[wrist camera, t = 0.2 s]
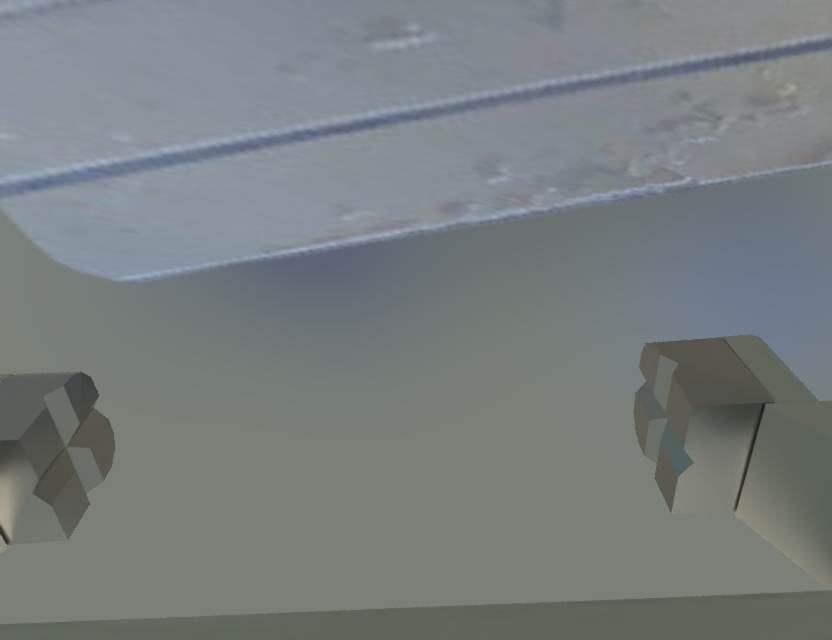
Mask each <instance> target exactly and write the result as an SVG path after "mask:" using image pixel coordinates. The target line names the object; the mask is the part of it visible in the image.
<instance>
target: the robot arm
mask: <svg viewBox="0 0 832 640" xmlns="http://www.w3.org/2000/svg"><path fill="white" fill-rule="evenodd" d="M639 368H640V370H641V372H642V374H643V376H644V377H645V379H646V382H645V383H644V385H643V386H642V387H641V388H640V389H639V390H638V391H637V392H636V395H635V404H634V420H635V431H636V435H637V438H638V442H639V445H640V447H641V449H642V451H643V454H644V455H645V456H646V457H647V458H649V459H650V460H652V461H653V462H655V463H656V464H657V466H656V473H655V480H656V482H657V484H658V486H659V488H660V490H661V493H662V495H663V497H664V499H665V501H666V503H667V505H668V507H669V510H670V512H671V513H672V514H676V513H729V512H736V516H737V517H738V518H739V519H741V520H742V521H743V522H744V523H746V524H747V525H748V526H750V527H751V528H752V529H753V530H755V531H756V532H757V533H758V534H760V535H761V536H762V537H763V538H765V539H766V540H767V541H768V542H770V543H771V544H772V545H773V546H775V547H776V548H777V549H779V550H780V551H781V552H782V553H784V554H785V555H786V556H787V557H789V558H790V559H791V560H793V561H794V562H795V563H796V564H798V565H799V566H800V567H801V568H803V569H804V570H805V571H806V572H808V573H809V574H810V575H811V576H813V577H814V578H815V579H816V580H818V581H819V582H820V583H822V584H823V585H824V586H825V587H827V588H828V589H829V590H830V591H806V592H782V593H760V594H738V595H737V594H736V595H714V596H691V597H669V598H668V597H667V598H646V599H645V598H644V599H619V600H593V601H567V602H540V603H515V604H488V605H462V606H438V607H437V606H436V607H410V608H385V609H361V610H339V611H314V612H289V613H265V614H241V615H217V616H193V617H168V618H144V619H120V620H96V621H71V622H48V623H47V622H46V623H23V624H0V640H832V401H819V400H818V399H817V398H816V397H815V396H814V395H813V394H812V393H811V392H810V391H809V390H808V388H807V387H806V386H805V385H804V384H803V383H802V382H801V381H800V380H799V379H798V377H797V376H795V374H794V373H793V372H792V371H791V370H790V369H789V368H788V367H787V366H786V365H785V363H784V362H783V361H782V360H781V359H780V358H779V357H778V356H777V355H776V354H775V353H774V351H773V350H772V349H771V348H770V347H769V346H768V345H767V344H766V343H765V342H764V341H763V340H762V339H761V338H760V337H758V336H755V335H753V334H751V335H739V336H728V337H717V338H709V339H694V340H681V341H668V342H655V343H645V345H644V348H643V350H642V353H641V359H640V365H639ZM98 398H99V393H98V391H97V389H96V387H95V384H94V382H93V380H92V378H91V377H90V376H88V375H86V374H85V373H83V372H65V373H64V372H61V373H33V374H32V373H31V374H16V375H14V374H2V375H0V554H1V553H2V552H3V551H4V550H6V549H7V547H8V546H7V545H12V544H25V543H39V542H53V541H66V540H69V538H70V536H71V535H72V533H73V531H74V530H75V528H76V526H77V525H78V523H79V521H80V520H81V518H82V516H83V515H84V513H85V511H86V510H87V508H88V506H89V505H90V503H89V500H88V497H87V494H86V493H87V492H89V491H90V490H92V489H93V488H94V487H96V486H97V485H99V484H100V483H102V482H103V481H104V480H105V478H106V476H107V474H108V472H109V471H110V469H111V467H112V463H113V458H114V452H115V440H114V432H113V430H112V427H111V424H110V421H109V419H108V418H106V417H105V416H104V415H103V414H101V413H100V412H98V411H97V410H96V409H95V408H94V407H95V404H96V402H97V400H98Z"/></svg>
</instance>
